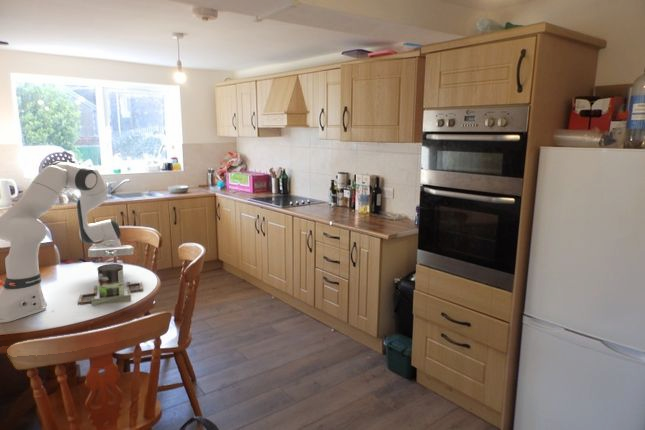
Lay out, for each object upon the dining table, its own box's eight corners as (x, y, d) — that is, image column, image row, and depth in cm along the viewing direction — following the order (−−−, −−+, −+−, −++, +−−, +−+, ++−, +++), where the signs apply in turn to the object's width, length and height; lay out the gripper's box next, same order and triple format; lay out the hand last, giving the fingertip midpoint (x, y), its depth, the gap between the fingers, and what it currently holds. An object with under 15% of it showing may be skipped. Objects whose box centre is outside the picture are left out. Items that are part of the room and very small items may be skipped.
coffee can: (109, 302, 187) (107, 271, 185) (94, 298, 192) (92, 268, 189) (129, 295, 196) (128, 265, 194) (114, 291, 201) (113, 262, 198)
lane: (144, 298, 192) (143, 293, 192) (77, 307, 181) (77, 301, 181) (141, 282, 214) (141, 277, 214) (81, 289, 203) (81, 284, 202)
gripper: (133, 253, 224) (134, 259, 212) (89, 255, 215) (87, 262, 203) (133, 241, 223) (134, 246, 211) (88, 243, 214) (87, 249, 202)
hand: (111, 254), depth 207 cm, fingers closed
